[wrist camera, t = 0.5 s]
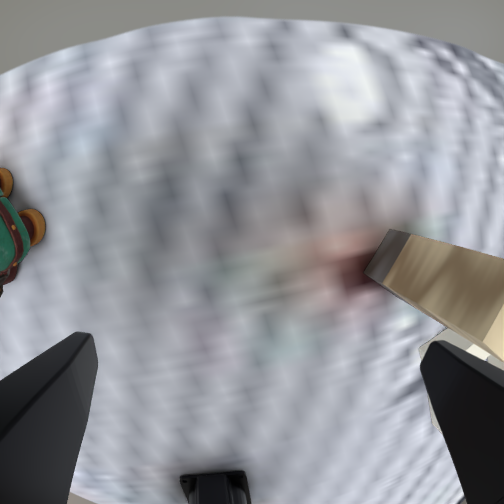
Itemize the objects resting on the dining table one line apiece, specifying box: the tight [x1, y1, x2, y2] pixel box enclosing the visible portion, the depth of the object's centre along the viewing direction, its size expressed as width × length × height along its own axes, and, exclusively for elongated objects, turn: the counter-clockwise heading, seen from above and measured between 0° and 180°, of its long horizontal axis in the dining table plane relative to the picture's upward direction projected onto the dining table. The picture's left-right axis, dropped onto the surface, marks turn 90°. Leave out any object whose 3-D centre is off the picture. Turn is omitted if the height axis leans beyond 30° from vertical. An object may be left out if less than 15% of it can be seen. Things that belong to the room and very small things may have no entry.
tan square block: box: [363, 229, 504, 363], centre depth 18 cm, size 4×4×13 cm
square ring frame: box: [419, 328, 504, 435], centre depth 26 cm, size 12×12×4 cm
